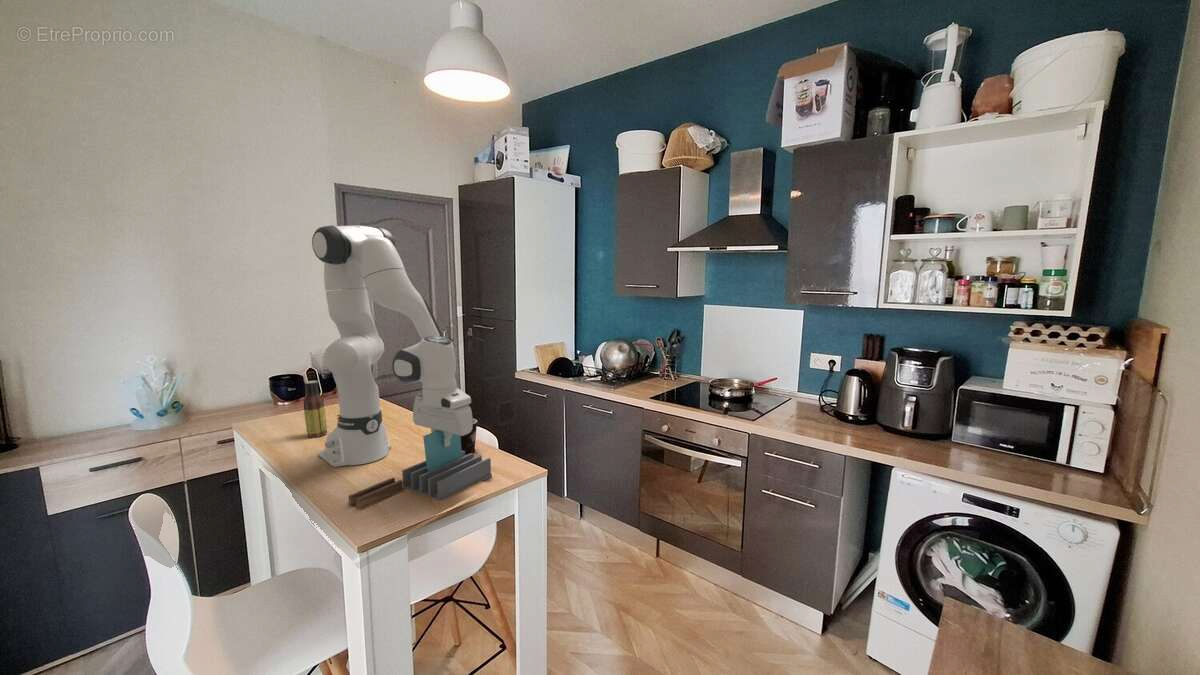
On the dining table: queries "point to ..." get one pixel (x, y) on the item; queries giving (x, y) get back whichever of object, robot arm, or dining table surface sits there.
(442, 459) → the plate
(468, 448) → the coffee mug
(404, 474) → the rack
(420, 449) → the dining table surface
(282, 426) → the dining table surface
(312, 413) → the sauce bottle
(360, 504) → the stand
